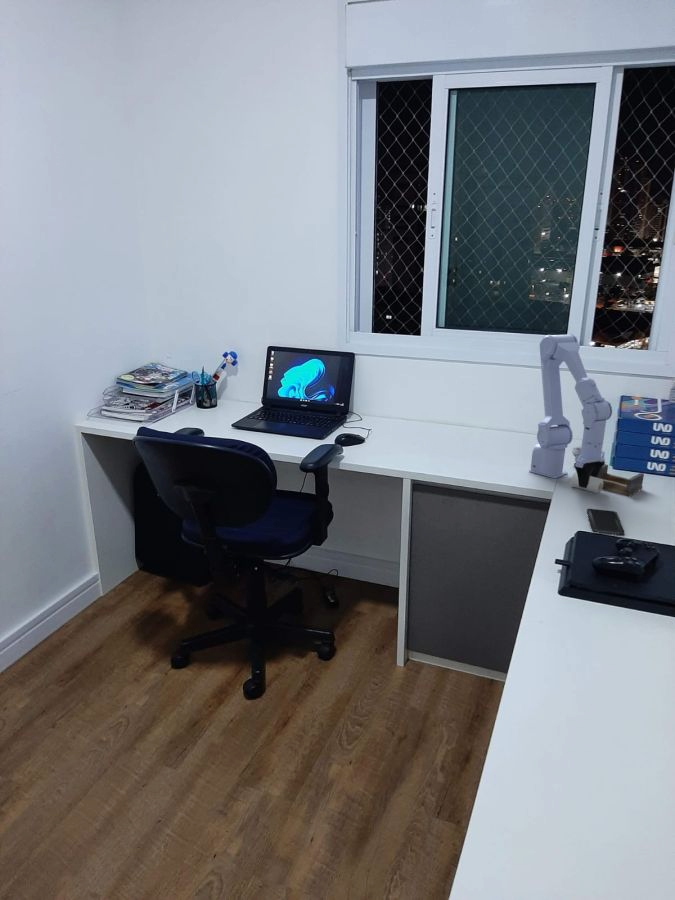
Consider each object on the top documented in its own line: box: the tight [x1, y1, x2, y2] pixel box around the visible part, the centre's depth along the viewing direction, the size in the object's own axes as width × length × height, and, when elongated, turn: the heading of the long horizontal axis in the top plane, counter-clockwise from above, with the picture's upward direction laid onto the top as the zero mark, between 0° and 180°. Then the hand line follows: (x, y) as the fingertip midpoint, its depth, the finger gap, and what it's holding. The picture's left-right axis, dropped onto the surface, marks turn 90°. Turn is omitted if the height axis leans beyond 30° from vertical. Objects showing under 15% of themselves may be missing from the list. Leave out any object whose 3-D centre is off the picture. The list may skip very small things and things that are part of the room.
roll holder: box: [597, 463, 645, 497], centre depth 202 cm, size 12×9×5 cm
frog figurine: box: [572, 444, 582, 463], centre depth 221 cm, size 6×7×7 cm
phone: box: [586, 508, 625, 536], centre depth 176 cm, size 8×1×15 cm
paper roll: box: [570, 471, 603, 494], centre depth 199 cm, size 8×4×4 cm, turn 44°
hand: (586, 485), depth 199 cm, fingers closed on paper roll, 4 cm apart
